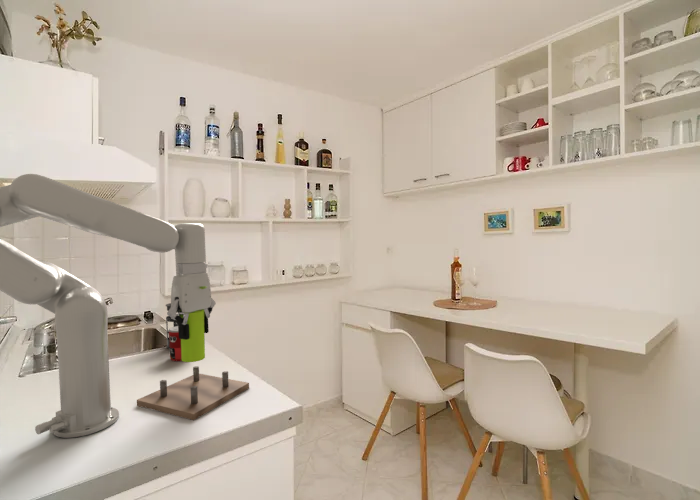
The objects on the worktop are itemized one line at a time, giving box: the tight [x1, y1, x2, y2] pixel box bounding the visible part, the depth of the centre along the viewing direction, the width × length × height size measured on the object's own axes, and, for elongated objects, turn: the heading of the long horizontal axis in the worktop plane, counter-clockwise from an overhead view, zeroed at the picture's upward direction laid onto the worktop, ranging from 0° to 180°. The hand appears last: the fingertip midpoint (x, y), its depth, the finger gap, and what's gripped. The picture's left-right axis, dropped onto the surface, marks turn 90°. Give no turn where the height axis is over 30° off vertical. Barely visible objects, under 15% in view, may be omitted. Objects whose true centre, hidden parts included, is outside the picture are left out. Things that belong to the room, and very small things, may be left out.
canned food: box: [168, 326, 183, 362], centre depth 134 cm, size 8×8×11 cm
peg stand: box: [136, 365, 250, 421], centre depth 102 cm, size 20×20×6 cm
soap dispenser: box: [181, 286, 207, 363], centre depth 101 cm, size 6×7×20 cm
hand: (194, 334), depth 101 cm, fingers closed on soap dispenser, 5 cm apart
